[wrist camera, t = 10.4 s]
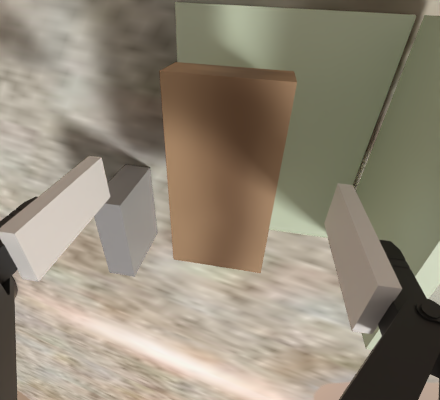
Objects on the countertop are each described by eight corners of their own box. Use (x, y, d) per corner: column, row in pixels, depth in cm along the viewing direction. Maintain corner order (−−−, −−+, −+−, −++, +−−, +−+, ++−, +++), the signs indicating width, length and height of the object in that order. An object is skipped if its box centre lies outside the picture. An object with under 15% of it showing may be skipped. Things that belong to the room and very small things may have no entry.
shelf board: (183, 235, 21) (173, 259, 19) (175, 61, 14) (159, 71, 12) (261, 246, 21) (260, 272, 18) (294, 71, 14) (297, 82, 12)
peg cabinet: (186, 211, 28) (143, 308, 19) (179, 2, 18) (82, -4, 9) (348, 233, 26) (386, 352, 17) (439, 16, 16) (639, 26, 7)
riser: (136, 229, 30) (109, 272, 25) (125, 164, 26) (89, 201, 21) (157, 233, 30) (134, 276, 25) (150, 167, 25) (120, 205, 21)
